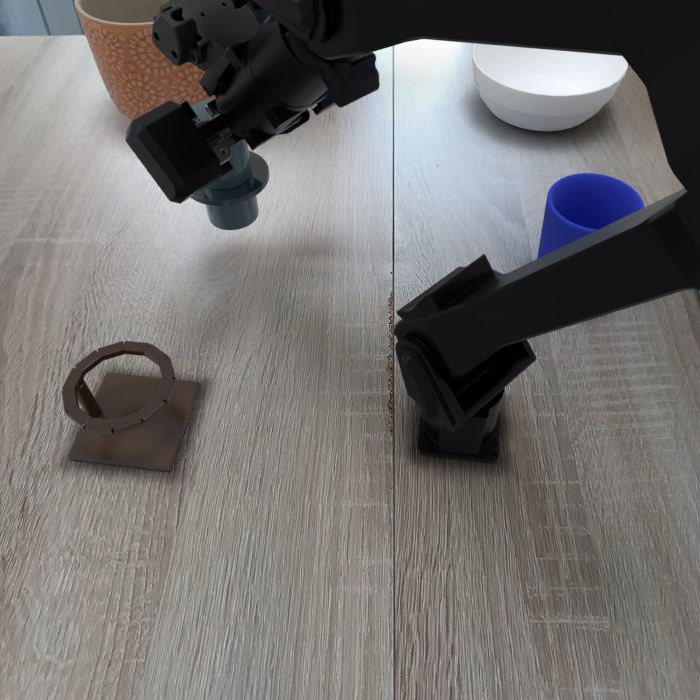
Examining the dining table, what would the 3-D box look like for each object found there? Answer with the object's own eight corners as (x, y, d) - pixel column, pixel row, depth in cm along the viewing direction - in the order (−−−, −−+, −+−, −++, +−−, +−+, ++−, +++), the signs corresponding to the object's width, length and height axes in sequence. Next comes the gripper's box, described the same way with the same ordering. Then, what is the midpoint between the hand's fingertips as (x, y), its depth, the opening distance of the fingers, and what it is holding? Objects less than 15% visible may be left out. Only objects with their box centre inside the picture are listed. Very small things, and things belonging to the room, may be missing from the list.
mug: (656, 323, 61) (698, 242, 53) (525, 306, 63) (546, 226, 55) (649, 263, 66) (687, 181, 58) (527, 249, 68) (548, 167, 60)
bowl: (617, 157, 77) (637, 100, 72) (461, 146, 79) (468, 90, 74) (604, 77, 89) (620, 23, 83) (468, 70, 91) (475, 16, 85)
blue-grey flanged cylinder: (291, 216, 62) (278, 115, 54) (220, 253, 59) (196, 152, 51) (245, 178, 66) (227, 78, 58) (177, 211, 63) (148, 111, 55)
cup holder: (170, 471, 53) (152, 436, 48) (69, 459, 54) (43, 423, 49) (200, 385, 58) (187, 346, 54) (108, 375, 59) (88, 336, 55)
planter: (224, 154, 80) (197, 28, 68) (93, 143, 82) (46, 20, 70) (260, 82, 90) (243, -38, 78) (144, 74, 92) (110, -44, 81)
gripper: (313, -88, 47) (233, 25, 60) (95, 5, 38) (59, 114, 51) (397, 53, 49) (303, 132, 63) (212, 170, 41) (149, 232, 54)
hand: (211, 148), depth 58 cm, fingers closed on blue-grey flanged cylinder, 5 cm apart
